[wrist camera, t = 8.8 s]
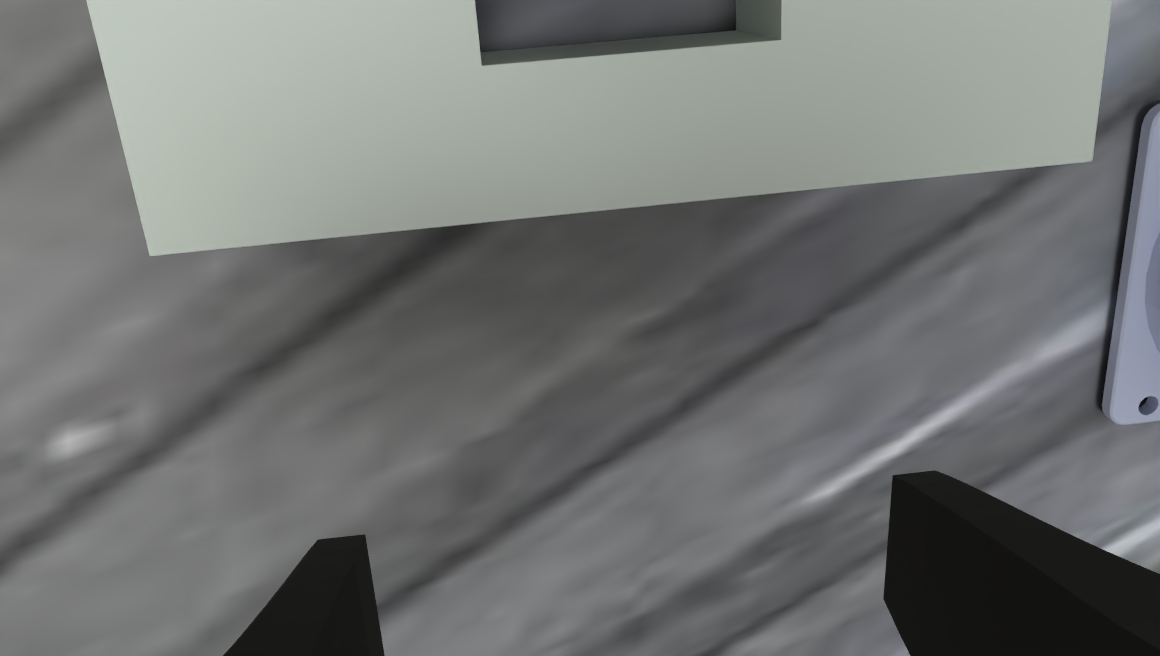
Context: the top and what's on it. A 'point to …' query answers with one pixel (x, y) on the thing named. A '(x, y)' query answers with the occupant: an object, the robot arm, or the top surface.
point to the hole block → (570, 109)
